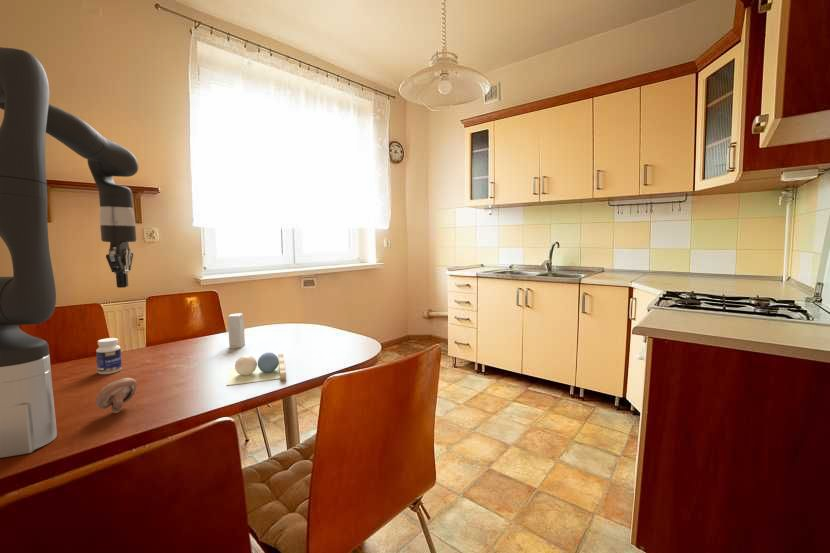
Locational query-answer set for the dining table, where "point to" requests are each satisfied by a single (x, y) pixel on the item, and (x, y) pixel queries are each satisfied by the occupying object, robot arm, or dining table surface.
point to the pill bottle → (108, 356)
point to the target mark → (252, 376)
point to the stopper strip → (282, 367)
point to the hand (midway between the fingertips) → (122, 287)
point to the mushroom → (116, 394)
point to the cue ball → (245, 365)
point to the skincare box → (236, 330)
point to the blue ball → (268, 362)
